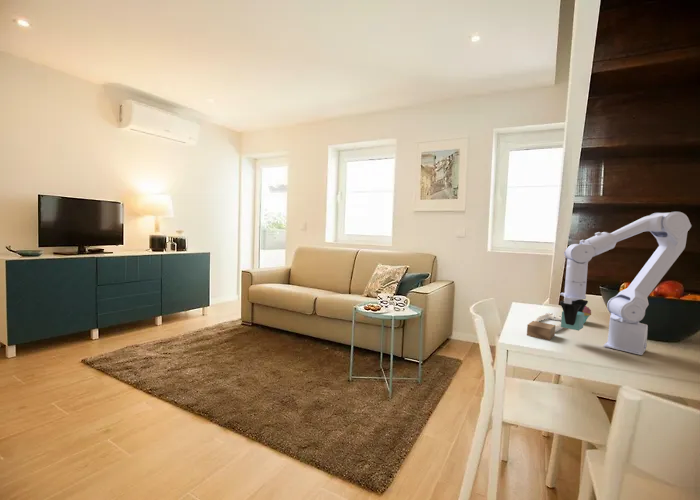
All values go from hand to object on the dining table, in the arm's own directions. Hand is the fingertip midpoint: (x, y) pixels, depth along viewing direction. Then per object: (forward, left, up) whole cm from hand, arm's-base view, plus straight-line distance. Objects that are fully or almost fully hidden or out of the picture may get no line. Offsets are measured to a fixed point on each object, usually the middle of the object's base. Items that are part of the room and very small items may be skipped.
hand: (572, 322), depth 113 cm
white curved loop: (+12, -18, -7) cm, 23 cm away
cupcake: (+6, -32, -7) cm, 33 cm away
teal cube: (0, 0, -2) cm, 2 cm away
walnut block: (+9, 0, -7) cm, 11 cm away
